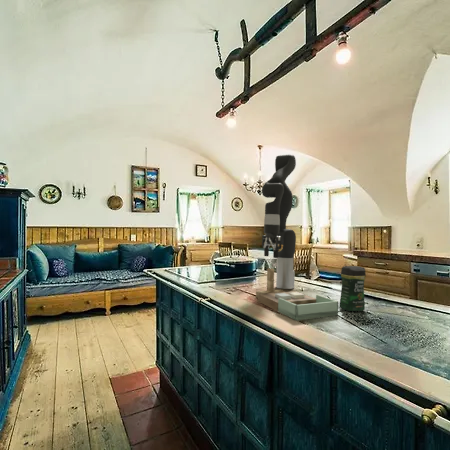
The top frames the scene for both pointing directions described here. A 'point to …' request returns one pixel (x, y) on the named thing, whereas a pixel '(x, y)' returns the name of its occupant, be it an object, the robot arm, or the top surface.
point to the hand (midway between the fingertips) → (270, 257)
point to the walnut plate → (272, 301)
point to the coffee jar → (352, 288)
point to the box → (309, 308)
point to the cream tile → (296, 295)
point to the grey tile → (283, 296)
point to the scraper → (269, 283)
